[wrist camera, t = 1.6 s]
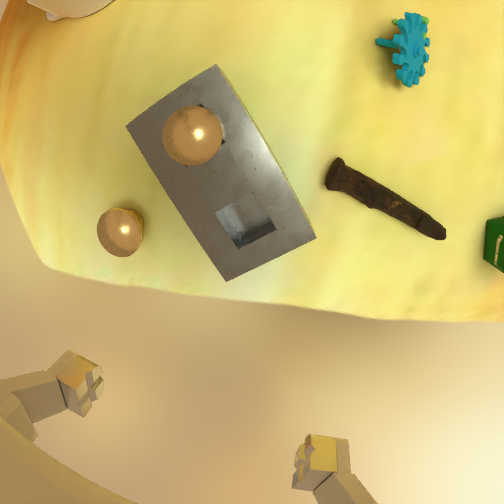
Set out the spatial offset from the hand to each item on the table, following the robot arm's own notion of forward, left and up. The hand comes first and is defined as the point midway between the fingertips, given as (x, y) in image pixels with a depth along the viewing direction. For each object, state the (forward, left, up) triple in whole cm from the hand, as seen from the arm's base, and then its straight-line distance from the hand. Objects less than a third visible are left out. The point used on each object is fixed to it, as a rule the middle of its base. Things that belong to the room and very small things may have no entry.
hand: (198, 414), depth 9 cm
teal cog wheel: (-9, +27, -30) cm, 42 cm away
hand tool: (+8, +17, -30) cm, 36 cm away
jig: (-5, -1, -30) cm, 30 cm away
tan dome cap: (-6, -16, -30) cm, 34 cm away
